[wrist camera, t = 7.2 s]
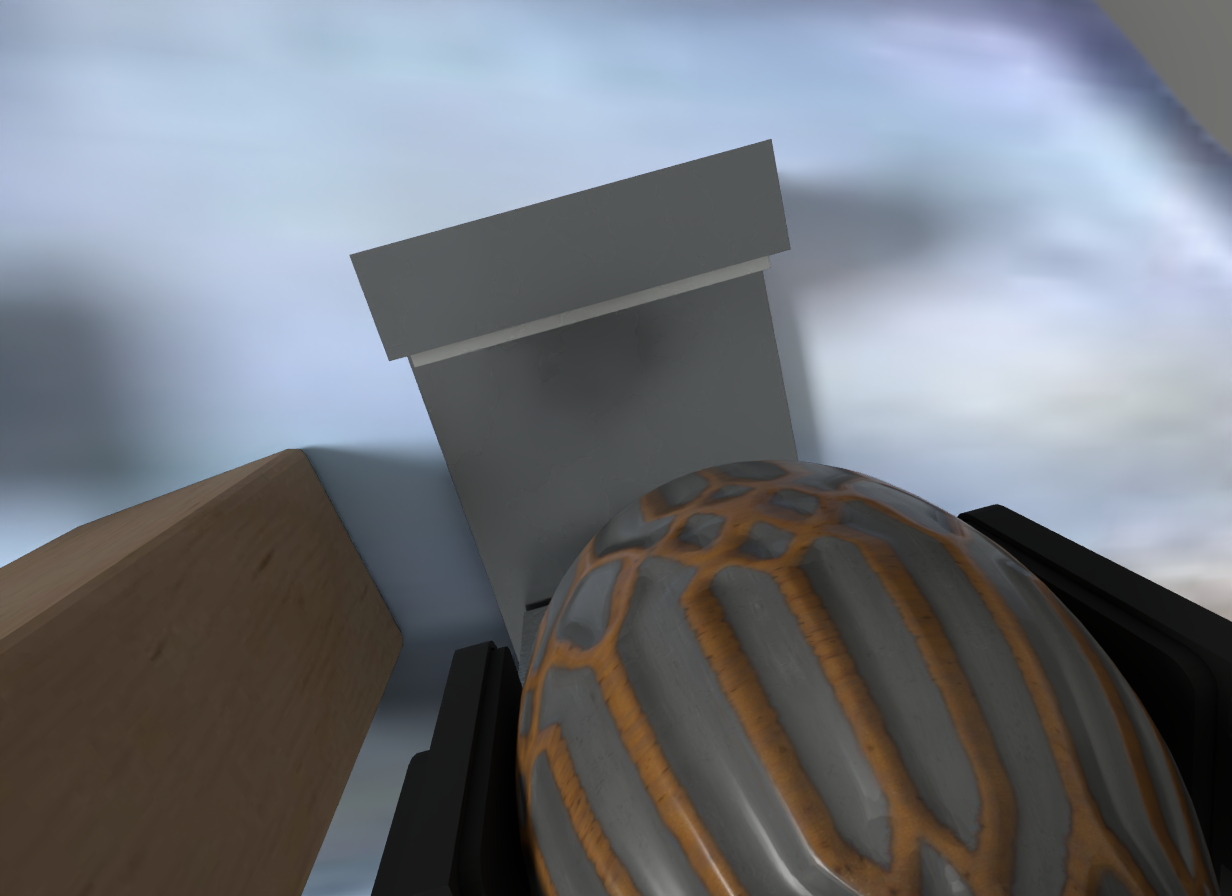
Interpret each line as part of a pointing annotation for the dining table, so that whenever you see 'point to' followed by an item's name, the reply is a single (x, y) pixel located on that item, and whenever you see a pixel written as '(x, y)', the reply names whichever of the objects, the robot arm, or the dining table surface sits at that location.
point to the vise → (590, 353)
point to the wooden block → (187, 691)
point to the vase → (832, 710)
